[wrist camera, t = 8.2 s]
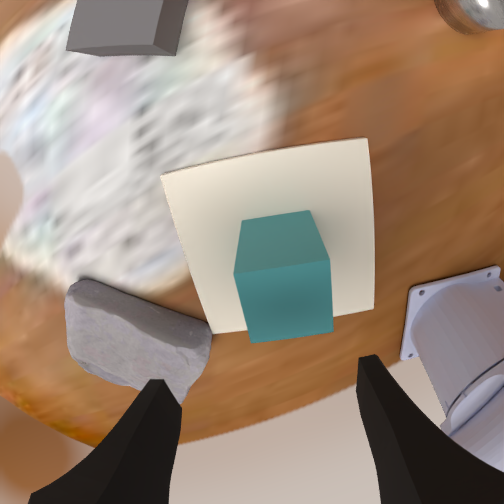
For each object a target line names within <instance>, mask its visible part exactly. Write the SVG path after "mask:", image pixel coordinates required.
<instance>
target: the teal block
mask: <svg viewBox="0 0 504 504" xmlns="http://www.w3.org/2000/svg"><path fill="white" fill-rule="evenodd" d="M233 275H234V279H235V283H236V287H237V291H238V295H239V299H240V303H241V306H242V310H243V314H244V318H245V322H246V326H247V329H248V333H249V337H250V341H251V343H258V342H267V341H275V340H283V339H290V338H297V337H304V336H311V335H317V334H323V333H329V332H333V302H332V281H331V265H330V258H329V255H328V253H327V250H326V248H325V246H324V243H323V241H322V238H321V236H320V233H319V231H318V229H317V226H316V224H315V222H314V219H313V217H312V215H311V212H310V210H305V211H299V212H292V213H285V214H279V215H273V216H266V217H260V218H254V219H248V220H242V222H241V228H240V234H239V241H238V247H237V253H236V259H235V266H234V272H233Z"/></svg>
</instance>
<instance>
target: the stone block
mask: <svg viewBox="0 0 504 504" xmlns="http://www.w3.org/2000/svg"><path fill="white" fill-rule="evenodd" d="M64 307H65V319H66V329H67V345H68V349H69V352H70V354H71V356H72V358H73V359H74V360H75V361H77V362H78V364H79V365H80V366H81V367H82V368H83V369H85V370H86V371H87V372H89V373H91V374H94V375H97V376H99V377H101V378H103V379H105V380H106V381H109V382H112V383H114V384H118V385H123V386H131V387H133V388H135V389H137V390H140V391H141V390H142V389H143V388H144V386H145V385H146V384H147V382H148V381H149V380H150V379H164V380H165V382H166V384H167V385H168V387H169V389H170V390H171V392H172V393H173V395H174V397H175V398H176V400H177V401H178V403H179V404H181V403H182V402H183V400H184V398H185V397H186V396H187V394H188V392H189V390H190V387H191V385H192V384H193V383H194V382H195V381H196V380H197V379H198V378H199V376H200V375H201V374H202V372H203V370H204V368H205V366H206V364H207V362H208V360H209V353H210V350H211V340H212V331H211V328H210V326H209V324H208V323H206V322H204V321H202V320H199V319H196V318H193V317H190V316H187V315H184V314H181V313H178V312H175V311H172V310H170V309H167V308H164V307H161V306H158V305H156V304H153V303H150V302H148V301H145V300H142V299H140V298H137V297H135V296H131V295H128V294H125V293H123V292H120V291H119V290H117V289H114V288H112V287H109V286H107V285H104V284H102V283H99V282H96V281H93V280H87V279H84V280H82V281H79V282H76V283H74V284H73V285H71V286H70V288H69V290H68V292H67V294H66V298H65V305H64Z"/></svg>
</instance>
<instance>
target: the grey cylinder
mask: <svg viewBox="0 0 504 504" xmlns="http://www.w3.org/2000/svg"><path fill="white" fill-rule="evenodd" d="M434 2H435V5H436V8H437V10H438V12H439V14H440V15H441V17H442V18H443V19H444V21H445V22H446V23H447V24H448V25H449V26H450V27H452V28H453V29H454V30H456V31H458V32H460V33H462V34H474V33H480V32H485V31H492V30H498V29H504V0H434Z"/></svg>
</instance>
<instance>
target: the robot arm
mask: <svg viewBox="0 0 504 504" xmlns="http://www.w3.org/2000/svg"><path fill="white" fill-rule="evenodd" d="M500 270H501V269H500V267H499V266H493V267H489V268H485V269H482V270H478V271H474V272H471V273H467V274H463V275H459V276H455V277H451V278H447V279H443V280H439V281H435V282H431V283H427V284H422V285H418V286H414V287H412V288H411V289H410V291H409V297H408V305H407V313H406V320H405V327H404V334H403V340H402V346H401V352H400V358H401V360H408V359H412V358H414V357H420V359H421V361H422V363H423V365H424V367H425V370H426V372H427V374H428V376H429V378H430V381H431V383H432V385H433V387H434V390H435V392H436V394H437V396H438V399H439V401H440V403H441V406H442V408H443V411H444V413H445V415H446V420H445V421H444V422H443V423H442V424H441V425H440V427H441V430H440V429H439V428H438V427H437V426H436V425H435V424H434V423H433V422H432V421H431V420H430V419H429V418H428V417H427V416H426V415H425V414H424V413H423V412H422V411H421V410H420V409H419V408H418V407H417V406H416V404H414V402H413V401H412V400H411V399H410V398H409V397H408V395H407V394H406V393H405V392H404V391H403V389H402V388H401V387H400V386H399V385H398V383H397V382H396V381H395V379H394V378H393V377H392V376H391V374H390V373H389V371H388V370H387V369H386V367H385V366H384V364H383V363H382V362H381V360H380V359H379V357H378V356H377V355H375V354H374V355H369V356H365V357H360V358H359V361H358V374H357V386H356V393H357V399H358V404H359V409H360V414H361V418H362V421H363V425H364V428H365V431H366V435H367V438H368V441H369V445H370V448H371V451H372V455H373V458H374V462H375V465H376V470H377V476H378V483H379V490H380V498H381V504H504V282H503V281H502V280H501V279H500V278H499V275H500ZM421 290H422V292H420V291H421ZM419 292H420V293H419ZM181 418H182V407H181V406H180V404H179V403H178V401H177V400H176V398H175V397H174V395H173V393H172V392H171V390H170V389H169V387H168V385H167V384H166V382H165V380H164V379H150V380H149V381H148V382H147V384H146V385H145V386H144V388H143V389H142V390H141V392H140V393H139V394H138V396H137V397H136V399H135V400H134V401H133V403H132V404H131V405H130V407H129V408H128V409H127V411H126V412H125V413H124V415H123V416H122V417H121V419H120V420H119V421H118V423H117V424H116V425H115V426H114V427H113V429H112V430H111V431H110V432H109V433H108V435H107V436H106V437H105V438H104V439H103V440H102V442H101V443H100V444H99V445H98V446H97V447H96V448H95V449H94V450H93V451H92V452H91V453H90V454H89V455H88V456H87V457H86V458H84V459H83V460H82V461H81V462H80V463H78V464H77V465H76V466H75V467H74V468H72V469H71V470H70V471H69V472H67V473H66V474H64V475H63V476H62V477H60V478H59V479H57V480H55V481H54V482H52V483H51V484H49V485H47V486H45V487H43V488H41V489H40V490H38V491H36V492H34V493H31V496H30V499H29V502H28V504H169V488H170V480H171V474H172V469H173V464H174V460H175V455H176V450H177V445H178V441H179V436H180V430H181Z"/></svg>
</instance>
